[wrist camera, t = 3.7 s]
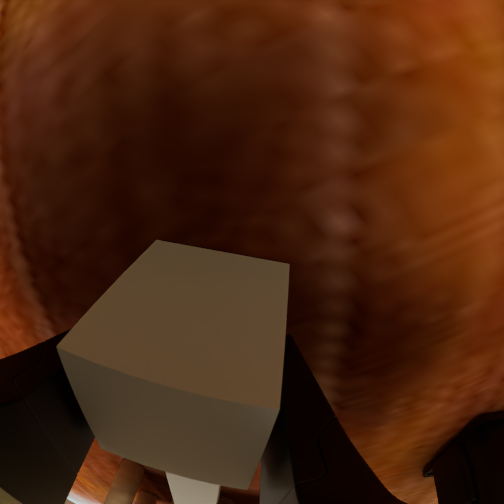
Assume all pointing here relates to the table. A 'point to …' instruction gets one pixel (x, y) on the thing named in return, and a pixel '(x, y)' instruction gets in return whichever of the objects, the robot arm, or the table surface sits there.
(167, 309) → the gray hammer
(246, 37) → the table surface
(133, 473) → the hinoki shelf
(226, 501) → the steel puck
